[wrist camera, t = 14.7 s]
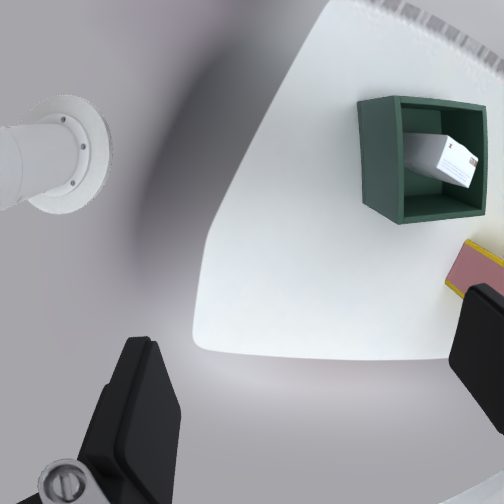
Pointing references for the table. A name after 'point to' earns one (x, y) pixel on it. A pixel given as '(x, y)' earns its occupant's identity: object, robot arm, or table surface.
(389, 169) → the bin
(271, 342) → the table surface
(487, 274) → the alarm clock
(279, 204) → the table surface
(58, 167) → the robot arm
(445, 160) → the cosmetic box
